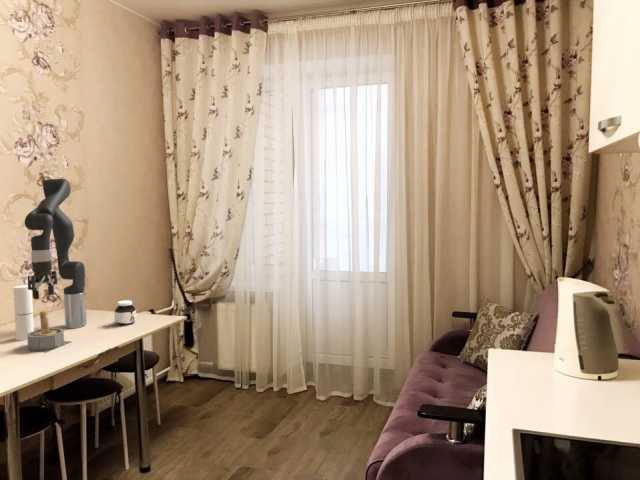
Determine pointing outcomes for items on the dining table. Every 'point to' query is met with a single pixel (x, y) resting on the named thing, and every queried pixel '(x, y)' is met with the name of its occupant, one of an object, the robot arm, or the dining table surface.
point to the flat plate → (44, 350)
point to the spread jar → (125, 313)
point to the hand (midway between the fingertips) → (43, 296)
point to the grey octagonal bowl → (45, 339)
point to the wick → (44, 322)
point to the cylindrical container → (23, 311)
